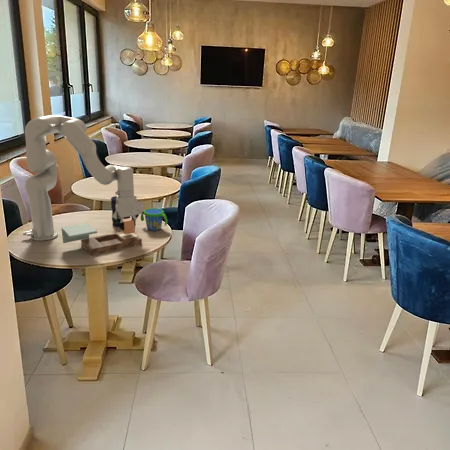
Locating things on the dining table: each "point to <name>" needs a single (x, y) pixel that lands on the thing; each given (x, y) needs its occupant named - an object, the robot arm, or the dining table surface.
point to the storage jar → (113, 206)
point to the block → (128, 226)
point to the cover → (77, 232)
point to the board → (110, 242)
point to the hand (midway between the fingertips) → (127, 228)
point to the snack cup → (154, 218)
